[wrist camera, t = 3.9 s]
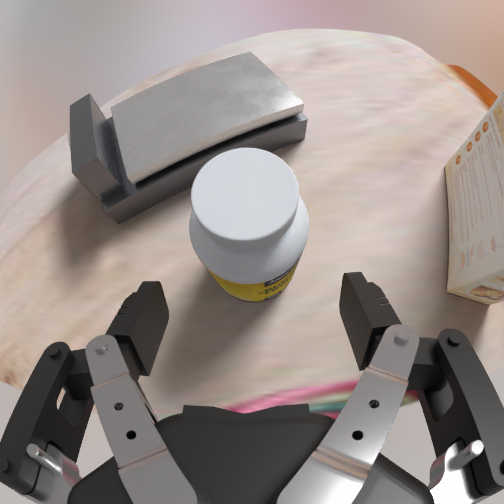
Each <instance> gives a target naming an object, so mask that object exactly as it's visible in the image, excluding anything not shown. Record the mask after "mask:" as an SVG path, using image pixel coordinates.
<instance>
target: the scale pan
mask: <svg viewBox="0 0 504 504" xmlns="http://www.w3.org/2000/svg"><path fill="white" fill-rule="evenodd" d="M303 106H304V103H303V102H302V101H301V100H300V99H299V98H298V97H297V96H296V95H295V94H294V93H293V92H292V91H291V89H290V88H289V87H288V86H287V85H286V84H285V83H284V82H283V81H281V80H280V79H279V78H278V77H277V76H276V75H275V74H274V73H273V72H272V71H271V70H270V69H269V68H268V67H267V66H266V65H265V64H264V63H262V62H261V61H260V60H259V59H258V58H257V57H256V56H255V55H254V54H252V53H251V52H247V53H244V54H240V55H236V56H233V57H230V58H226V59H223V60H220V61H217V62H214V63H211V64H208V65H205V66H202V67H199V68H196V69H194V70H191V71H188V72H186V73H183V74H181V75H178V76H176V77H173V78H171V79H169V80H166V81H164V82H162V83H159V84H157V85H155V86H153V87H151V88H148V89H146V90H144V91H142V92H140V93H138V94H136V95H134V96H132V97H130V98H128V99H126V100H124V101H122V102H120V103H119V104H117V105H115V106H113V107H111V111H112V116H113V121H114V125H115V130H116V134H117V139H118V143H119V147H120V151H121V155H122V159H123V163H124V167H125V170H126V174H127V178H128V179H129V180H130V181H131V183H132V184H135V183H137V182H139V181H141V180H143V179H145V178H147V177H148V176H150V175H152V174H154V173H156V172H158V171H160V170H162V169H164V168H166V167H168V166H170V165H172V164H174V163H176V162H178V161H181V160H183V159H185V158H187V157H189V156H191V155H193V154H196V153H198V152H200V151H202V150H205V149H207V148H209V147H211V146H214V145H216V144H218V143H221V142H223V141H226V140H228V139H230V138H233V137H235V136H238V135H240V134H243V133H245V132H248V131H251V130H253V129H256V128H259V127H261V126H264V125H267V124H270V123H272V122H275V121H278V120H281V119H284V118H287V117H290V116H293V115H296V114H299V113H302V112H303Z"/></svg>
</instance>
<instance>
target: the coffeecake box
mask: <svg viewBox="0 0 504 504" xmlns="http://www.w3.org/2000/svg"><path fill="white" fill-rule="evenodd" d="M445 173H446V182H447V194H448V210H449V267H448V283H447V292H449V293H452V294H456V295H459V296H462V297H465V298H469V299H472V300H476V301H478V302H482V303H485V304H488V305H491V304H494V303H498V302H501V301H504V90H503V91H502V93H501V94H500V95H499V97H498V98H497V100H496V101H495V103H494V104H493V105H492V107H491V108H490V109H489V111H488V112H487V114H486V115H485V116H484V118H483V119H482V120H481V122H480V123H479V124H478V126H477V127H476V128H475V130H474V131H473V132H472V133H471V135H470V136H469V137H468V138H467V140H466V141H465V142H464V144H463V145H462V146H461V147H460V149H459V150H458V151H457V152H456V153H455V155H454V156H453V157H452V158H451V159H450V161H449V162H448V163H447V164H446V165H445Z"/></svg>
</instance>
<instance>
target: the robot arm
mask: <svg viewBox="0 0 504 504" xmlns="http://www.w3.org/2000/svg"><path fill="white" fill-rule="evenodd" d="M339 309H340V315H341V318H342V321H343V323H344V326H345V329H346V332H347V335H348V338H349V341H350V344H351V346H352V349H353V352H354V355H355V358H356V361H357V364H358V368H359V371H361V370H365V371H364V372H363V374H362V376H361V378H360V380H359V382H358V384H357V385H356V387H355V389H354V391H353V392H352V394H351V396H350V398H349V399H348V401H347V403H346V404H345V406H344V408H343V409H342V411H341V413H340V414H339V416H338V418H337V419H336V420H335V419H333V418H331V417H329V416H326V415H323V414H319V413H315V412H309V405H308V404H298V405H284V406H275V407H271V408H268V409H264V410H260V411H256V412H251V413H246V414H243V413H238V412H233V411H229V410H225V409H221V408H217V407H210V406H191V405H184V407H183V412H182V413H181V414H176V415H172V416H169V417H167V418H164V419H162V420H160V421H159V420H158V418H157V416H156V415H155V413H154V411H153V409H152V407H151V406H150V404H149V402H148V400H147V398H146V396H145V394H144V392H143V390H142V388H141V386H140V384H139V382H138V379H139V376H140V375H142V376H150V373H151V370H152V367H153V364H154V361H155V358H156V355H157V352H158V349H159V346H160V343H161V340H162V338H163V335H164V332H165V329H166V326H167V324H168V320H169V310H168V306H167V303H166V299H165V296H164V292H163V289H162V285H161V283H160V282H159V281H144V282H142V284H141V285H140V287H139V289H138V291H137V292H133V293H132V294H131V295H130V296H129V297H127V298H126V299H125V301H124V302H123V304H122V306H121V308H120V309H119V311H118V313H117V314H116V316H115V318H114V320H113V321H112V323H111V325H110V327H109V328H108V330H107V332H106V334H105V335H100V336H97V337H95V338H94V339H92V340H91V341H90V342H89V343H88V344H87V346H86V349H80V350H74V351H71V350H70V348H69V346H68V345H67V344H66V343H65V342H56V343H53V344H51V345H50V346H48V347H47V348H46V350H45V351H44V353H43V354H42V356H41V358H40V360H39V361H38V363H37V365H36V367H35V369H34V370H33V372H32V374H31V376H30V378H29V380H28V382H27V384H26V386H25V388H24V390H23V392H22V394H21V396H20V398H19V400H18V402H17V404H16V406H15V408H14V410H13V413H12V415H11V417H10V420H9V422H8V424H7V427H6V429H5V432H4V434H3V436H2V439H1V442H0V482H2V483H3V484H5V485H6V486H8V487H10V488H11V489H13V490H15V491H16V492H17V493H19V494H20V495H22V496H24V497H26V498H28V499H29V500H31V501H34V502H35V503H37V504H476V503H478V502H480V501H482V500H484V499H486V498H488V497H490V496H492V495H493V494H495V493H497V492H499V491H501V490H502V489H504V408H503V405H502V403H501V401H500V399H499V397H498V395H497V392H496V390H495V388H494V386H493V384H492V382H491V380H490V378H489V376H488V374H487V373H486V371H485V369H484V367H483V365H482V363H481V361H480V360H479V358H478V356H477V354H476V353H475V351H474V349H473V347H472V346H471V344H470V342H469V341H468V339H467V337H466V336H465V335H464V334H463V333H461V332H460V331H458V330H455V329H445V330H443V331H442V332H441V333H440V334H439V336H438V338H437V339H431V338H420V337H419V336H418V334H417V332H416V331H415V330H414V329H412V328H411V327H409V326H406V325H402V324H401V322H400V320H399V318H398V317H397V315H396V313H395V311H394V310H393V308H392V306H391V305H390V304H389V301H388V299H387V298H386V297H385V294H384V293H383V291H382V290H381V288H380V287H378V286H377V285H376V284H374V283H373V282H367V281H366V279H365V277H364V276H363V274H362V272H351V273H344V275H343V279H342V287H341V295H340V302H339ZM62 387H63V389H64V390H65V391H66V392H65V395H64V397H63V399H62V402H61V404H60V407H59V409H57V399H58V396H59V394H60V392H61V390H62ZM406 390H416V392H417V394H418V397H419V400H420V403H421V406H422V409H423V412H424V416H425V419H426V422H427V425H428V429H429V432H430V435H431V439H432V442H433V446H434V450H435V454H436V458H437V459H436V460H435V461H434V462H433V464H432V466H431V469H430V483H429V486H428V487H427V486H426V485H425V484H424V483H422V482H421V481H419V480H418V479H416V478H415V477H413V476H412V475H410V474H409V473H408V472H406V471H405V470H403V469H402V468H400V467H399V466H397V465H396V464H395V463H393V462H392V461H390V460H389V459H388V458H386V457H385V456H384V455H382V454H381V453H380V452H379V451H380V449H381V447H382V445H383V443H384V441H385V439H386V437H387V435H388V433H389V430H390V428H391V426H392V424H393V421H394V419H395V417H396V414H397V412H398V410H399V407H400V405H401V402H402V399H403V397H404V394H405V391H406ZM94 403H95V406H96V409H97V412H98V415H99V418H100V421H101V424H102V427H103V429H104V432H105V434H106V437H107V440H108V442H109V445H110V447H111V450H112V452H113V455H114V456H113V457H112V458H110V459H109V460H108V461H106V462H105V463H104V464H102V465H101V466H100V467H98V468H97V469H96V470H94V471H93V472H91V473H90V474H88V475H87V476H85V477H84V478H83V479H82V478H81V477H80V476H79V469H78V467H77V465H76V461H77V458H78V454H79V450H80V447H81V443H82V440H83V437H84V433H85V430H86V427H87V424H88V421H89V417H90V414H91V411H92V408H93V405H94Z"/></svg>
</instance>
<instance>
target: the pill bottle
mask: <svg viewBox="0 0 504 504" xmlns="http://www.w3.org/2000/svg"><path fill="white" fill-rule="evenodd" d="M191 204H192V209H193V210H192V213H191V217H190V226H189V231H190V238H191V242H192V245H193V248H194V250H195V252H196V254H197V256H198V258H199V259H200V261H201V262H202V263H203V265H204V266H205V267H206V268H207V270H208V271H209V272H210V273H211V275H212V276H213V277H214V278H215V280H216V281H217V282H218V283H219V285H220V286H221V287H222V288H223V289H224V290H225V291H226V292H227V293H228V294H230V295H231V296H233V297H235V298H237V299H239V300H242V301H246V302H261V301H265V300H268V299H271V298H273V297H275V296H277V295H278V294H279V293H281V292H282V291H283V290H284V289H285V288H286V287H287V285H288V284H289V282H290V281H291V279H292V277H293V274H294V272H295V269H296V267H297V264H298V262H299V259H300V257H301V255H302V252H303V250H304V247H305V245H306V242H307V238H308V233H309V219H308V213H307V210H306V207H305V204H304V202H303V200H302V199H301V197H300V195H299V187H298V182H297V179H296V177H295V175H294V173H293V171H292V170H291V168H290V167H289V166H288V165H287V164H286V163H285V162H284V161H283V160H282V159H281V158H279V157H278V156H276V155H274V154H272V153H270V152H268V151H265V150H261V149H257V148H238V149H233V150H229V151H226V152H223V153H221V154H219V155H217V156H216V157H214V158H212V159H211V160H210V161H208V162H207V163H206V164H205V165H204V166H203V167H202V169H201V170H200V171H199V172H198V174H197V176H196V178H195V180H194V182H193V185H192V190H191Z"/></svg>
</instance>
